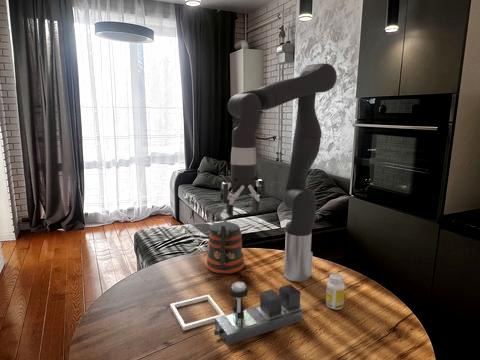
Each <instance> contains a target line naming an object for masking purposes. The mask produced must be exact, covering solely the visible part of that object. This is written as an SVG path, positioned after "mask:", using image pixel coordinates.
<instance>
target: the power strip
mask: <svg viewBox="0 0 480 360" xmlns="http://www.w3.org/2000/svg"><path fill="white" fill-rule="evenodd" d="M278 291H279V292H276V291H275V290H274V289H273V288H272V289H268V290H265V291H260V293H259V294H260V298H259V299H260V300H259V305H256V306H254V307H249V308H246V309H244V311H243V312H244V318H243V320H242V323H241V326H238V323H236V321H235V314H234V315H233V312H232V313H229V314H225V316H221V317H218V318H215V322H214V326H215V327H214V329H216V330H214V331H213V333H214V336H218V335H220V337H221V338H222V339H223V341H224V343H226V345H227V346H229V345H233V344H235V343H238V342H241V341H244V340H245V341H246V340H247V339H250V338H253V337H256V336H260V335H263V334H266V333H269V332H272V331H275V330H278V329H281V328H284V327H287V326H290V325H292V324H296V323H298V322H302V321H303V319H304V318H303V317H304V314H303V313H304V310H303V309H304V307H303V306H302V305H301V295H302V294H301V293H302V292H301V291H300V290H299V289H297V288H296V287H295V286H293V285H292V284H287V285H284V286H280V287H279V289H278ZM239 325H240V324H239Z"/></svg>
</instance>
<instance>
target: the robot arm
mask: <svg viewBox="0 0 480 360" xmlns="http://www.w3.org/2000/svg"><path fill="white" fill-rule="evenodd" d="M337 78H338V76H337V71H336V69H335V67H334V66H333V65H332V64H329V63H324V62H322V63H313V64H308V65H307V64H306V65H305V66H304V67H303V68H302V69H301V71H300V74H299V76H297V77H293V78H287V79H283V80H278V81H275V82H272V83H269V84H266V85H263V86H261V87H258V88H256V89H251V90H247V91H243V92H240V93H237V94H234V95H233V96H231V97H230V99H229V100H228V102H227V110H228V112H229V114H230V115H231V116H232V117H234V118H236V119H239V122H238V125H237V126H236V127H234V128H233V129H232V132H231V152H230V178H231V180H230V182H224V181H222V182H221V183H220V194H219V195H220V196H219V201H220V202H221V203H223V204H225V205H226V207H225V209H226V210H225V211H226V214H227V216H229V217H234V204H233V203H234V202H235V201H236V200H237V199H238V197H239V196H240V197H243V196H250V197H251V199H252V200H251V205H252V206H251V209H252V210H251V211H252V213H253V214H257V213H258V211H259V210H260V200H263V199H265V197H266V196H265V195H266V194H265V193H266V188H265V187H266V186H265V180H263V179H262V178H261V179H260V178H259V179H257V180H256V176H257V150H256V147H257V145H256V142H257V141H256V139H257V138H256V135H257V134H256V133H257V130H258V126H259V124H260V123H259V122H260V119H261V114H262V111H267V110H270V109H274V108H276V107H279V106H281V105H283V104H286V103H288V102H291V101H293V100H297V111H296V120H295V127H294V134H293V139H292V140H293V141H292V150H291V156H290V162H289V163H290V165H289V170H288V171H289V172H288V177H287V180H286V184H285V187H284V188H285V189H284V193H283V204H284V206H285V207H286V209H288V210H289V211H291V212H292V213H291V220H289V221H287V223H286V224H285V238H284V239H285V242H284V243H285V244H284V246H285V247H284V263H283V264H284V266H283V277H284V278H286V279H287V280H288V281H292V282H295V283H297V282H298V283H299V282H300V283H302V282H306V281H307V280H309V278H311V277H312V275H313V273H312V272H313V256H314V255H313V254H314V252H313V251H312V250H311V249H312V235H313V234H312V233H313V231H312V230H313V227H314V226H315V221H316V212H317V197H316V195H315V193H314V192H313V191H311V190H310V189H307V187H306V186H307V179H308V174H309V171H310V170H311V167H312V165H313V163H314V162H315V160H316V159H317V157H318V155H319V152H320V147H321V141H322V140H321V138H322V128H321V124H320V121H319V119H318V115H317V113H316V106H315V105H316V104H315V103H316V95H317V93H318V94H319V93H325V92H329V91H330V90H332V89H333V88H334V86H335V85H336V83H337V80H338V79H337ZM255 187H256V188H257V192H256V190H255ZM230 189H231V190H230ZM229 190H230V192H229V193H228V191H229Z"/></svg>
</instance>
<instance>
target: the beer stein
mask: <svg viewBox="0 0 480 360" xmlns="http://www.w3.org/2000/svg"><path fill="white" fill-rule="evenodd" d="M208 229H209V230H210V232H209V237H208V252H207V255H206V268H207V269H208V270H209V271H210V272H213V273H214V274H215V273H216V274H220V275H221V274H222V275H226V274H227V275H228V274H229V275H230V274H234V273H238V272H240V271H242V270H243V268H244V267H245V261H244V259H245V258H244V253H243V245H242V244H243V238H242V231H241V228H240V225H239V224H236V223H234V222H230V221H228V220H227V219H225V220H224V221H220V222H216V223H212V224H211V225H210V226H209V228H208Z"/></svg>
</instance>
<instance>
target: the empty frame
mask: <svg viewBox="0 0 480 360" xmlns="http://www.w3.org/2000/svg"><path fill="white" fill-rule="evenodd" d="M203 301H208V303H209V304H210V305H211V306H212V308H213V309H214V310H215V312H216V313H217V314H218V315H214V316H211V317H206V318H204V319H203V318H202V319H200V320H197V321H192V322H189V323H185V322H184V319H183V318H182V316H181V315H180V313H179V311H178V309H177V308H179V307H184V306H187V305H189V306H190V305H191V304H197V303H199V302H203ZM169 305H170V309H171V311H172V313H173V315H174V316H175V319H176V320H177V322H178V324H179V325H180V327H181V330H182V331H183V332H184V331H187V330H190V329H194V328H197V327H201V326H205V325H208V324H211V323H215V318H218V317H221V316H225V315H226V314H225V313H224V312H223V310H222V309H221V308H220V306H219V305H218V304H217V303H216V302H215V301H214V299H213V298H212V297H211V296H210V294H206V295H201V296H196V297H194V298H190V299H185V300H182V301H177V302H173V303H170V304H169Z"/></svg>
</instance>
